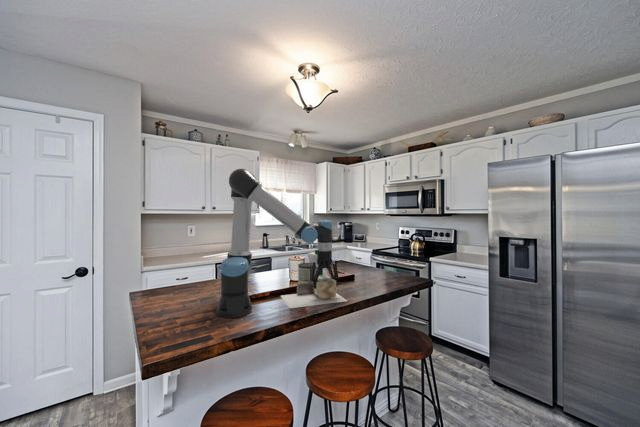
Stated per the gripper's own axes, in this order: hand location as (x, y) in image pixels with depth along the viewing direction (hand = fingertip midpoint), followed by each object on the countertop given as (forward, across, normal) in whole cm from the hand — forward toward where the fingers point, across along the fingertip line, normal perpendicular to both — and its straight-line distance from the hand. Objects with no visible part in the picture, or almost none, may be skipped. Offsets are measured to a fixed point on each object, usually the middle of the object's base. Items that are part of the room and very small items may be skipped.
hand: (324, 293), depth 143 cm
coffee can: (+3, -3, +18) cm, 19 cm away
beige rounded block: (0, 0, 0) cm, 0 cm away
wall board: (+2, -6, 0) cm, 7 cm away
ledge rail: (+2, -2, +8) cm, 9 cm away
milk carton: (+3, +8, +32) cm, 33 cm away
